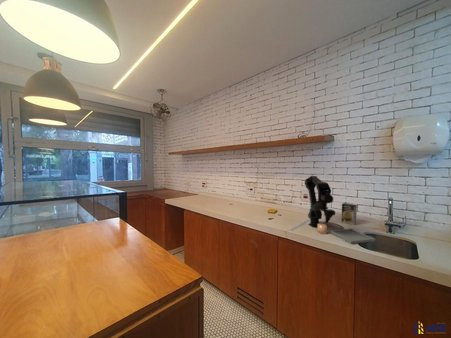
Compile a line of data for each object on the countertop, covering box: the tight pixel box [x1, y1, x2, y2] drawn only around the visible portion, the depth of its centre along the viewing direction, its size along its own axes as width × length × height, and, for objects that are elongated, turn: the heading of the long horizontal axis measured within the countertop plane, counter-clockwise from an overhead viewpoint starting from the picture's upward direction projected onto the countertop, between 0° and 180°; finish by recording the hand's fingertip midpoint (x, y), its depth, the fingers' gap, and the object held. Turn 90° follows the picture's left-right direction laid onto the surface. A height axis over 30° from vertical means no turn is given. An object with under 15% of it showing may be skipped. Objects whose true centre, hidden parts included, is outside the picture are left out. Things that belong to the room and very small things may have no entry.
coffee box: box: [341, 202, 358, 226], centre depth 153 cm, size 9×6×16 cm
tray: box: [329, 228, 376, 245], centre depth 125 cm, size 18×18×2 cm
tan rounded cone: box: [316, 222, 328, 235], centre depth 133 cm, size 6×6×6 cm
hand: (322, 221), depth 133 cm, fingers open, 9 cm apart
